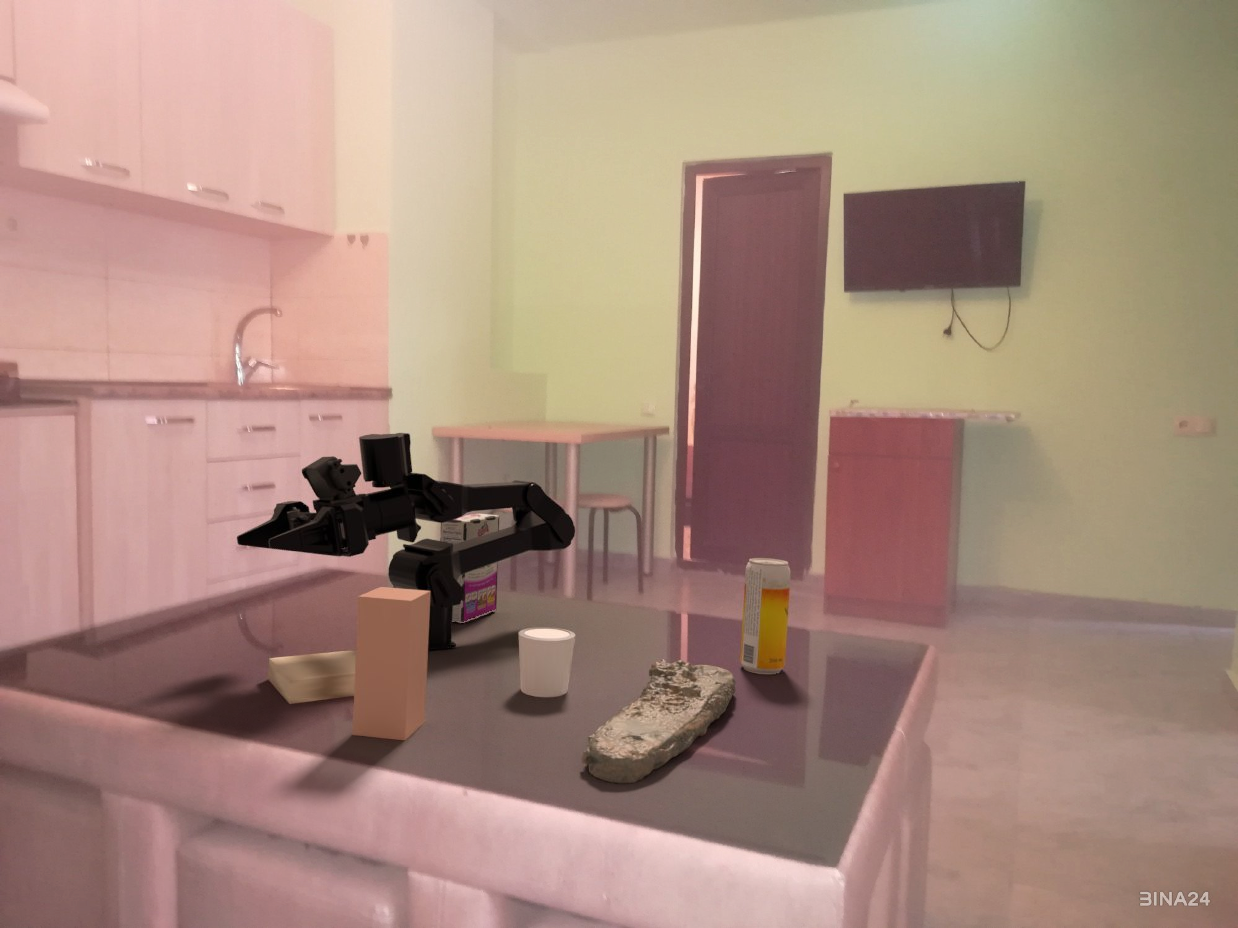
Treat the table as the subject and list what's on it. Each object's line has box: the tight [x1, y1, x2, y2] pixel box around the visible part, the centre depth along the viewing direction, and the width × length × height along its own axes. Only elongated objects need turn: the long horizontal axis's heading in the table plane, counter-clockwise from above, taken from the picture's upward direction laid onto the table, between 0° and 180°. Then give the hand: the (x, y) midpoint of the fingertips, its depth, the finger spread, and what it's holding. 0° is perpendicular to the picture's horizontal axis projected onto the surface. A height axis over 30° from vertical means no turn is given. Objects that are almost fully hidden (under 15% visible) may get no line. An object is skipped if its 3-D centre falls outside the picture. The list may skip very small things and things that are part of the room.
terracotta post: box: [352, 586, 431, 741], centre depth 91 cm, size 6×6×14 cm
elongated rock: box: [581, 659, 737, 784], centre depth 96 cm, size 35×5×10 cm
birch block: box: [268, 650, 356, 705], centre depth 104 cm, size 10×10×3 cm
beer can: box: [739, 557, 792, 675], centre depth 121 cm, size 6×6×15 cm
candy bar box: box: [439, 513, 501, 622], centre depth 144 cm, size 11×5×16 cm, turn 159°
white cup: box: [518, 626, 576, 698], centre depth 107 cm, size 7×7×7 cm
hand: (253, 542), depth 105 cm, fingers open, 9 cm apart
